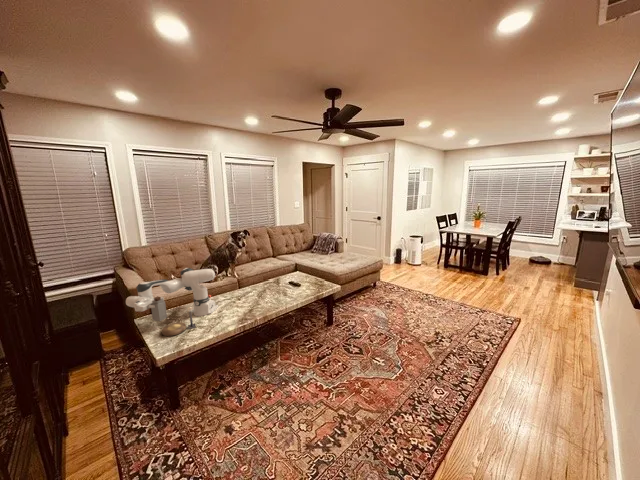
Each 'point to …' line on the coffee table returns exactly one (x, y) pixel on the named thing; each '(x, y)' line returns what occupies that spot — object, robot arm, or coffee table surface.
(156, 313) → the perfume bottle
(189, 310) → the dial indicator
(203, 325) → the coffee table surface
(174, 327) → the turntable
